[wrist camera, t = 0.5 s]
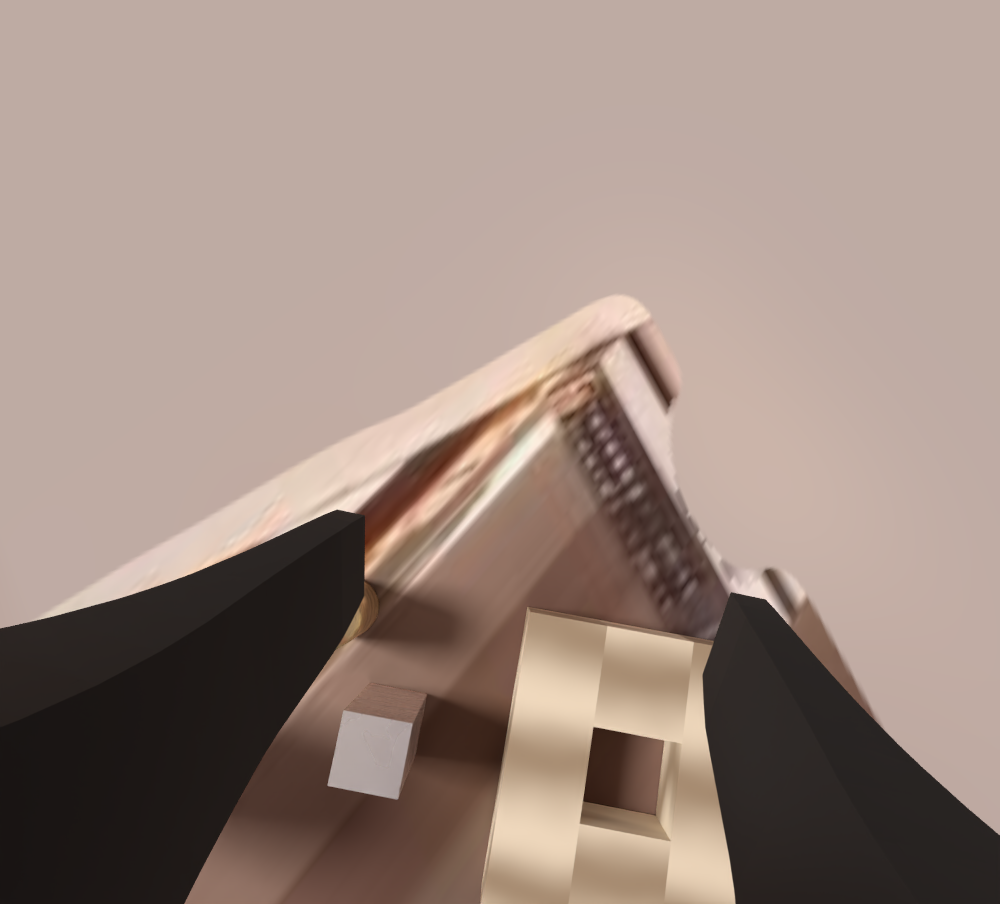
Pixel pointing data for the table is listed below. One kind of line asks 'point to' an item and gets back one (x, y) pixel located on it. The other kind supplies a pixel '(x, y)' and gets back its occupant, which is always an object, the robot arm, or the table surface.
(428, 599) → the table surface
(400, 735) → the square bit
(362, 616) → the round bit
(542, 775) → the socket plate
